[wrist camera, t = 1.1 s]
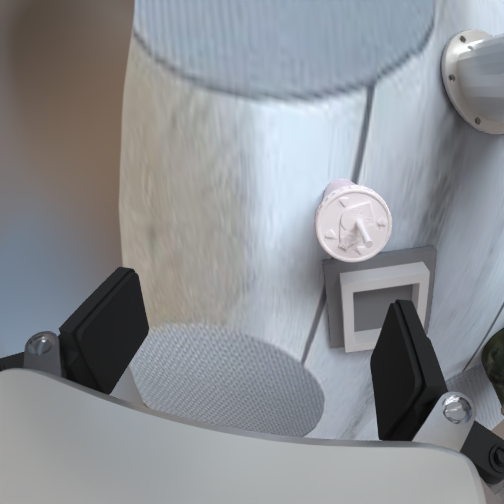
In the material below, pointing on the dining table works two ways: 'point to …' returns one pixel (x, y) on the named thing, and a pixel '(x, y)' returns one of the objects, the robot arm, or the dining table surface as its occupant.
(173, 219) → the dining table surface
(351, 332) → the dock
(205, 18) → the dining table surface
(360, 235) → the smoothie
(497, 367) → the mug
